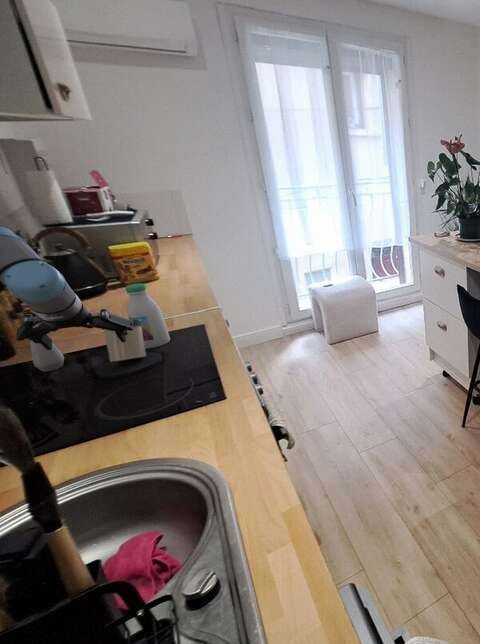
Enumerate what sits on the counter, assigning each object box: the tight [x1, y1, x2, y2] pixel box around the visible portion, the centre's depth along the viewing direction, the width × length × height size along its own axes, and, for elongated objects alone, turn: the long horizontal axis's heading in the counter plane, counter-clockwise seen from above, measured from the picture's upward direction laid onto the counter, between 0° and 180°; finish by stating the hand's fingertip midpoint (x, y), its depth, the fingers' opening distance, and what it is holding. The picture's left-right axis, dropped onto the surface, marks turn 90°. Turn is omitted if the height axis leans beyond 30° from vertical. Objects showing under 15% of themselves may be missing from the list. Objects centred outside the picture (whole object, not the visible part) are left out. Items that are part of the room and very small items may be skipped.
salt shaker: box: [29, 324, 65, 372], centre depth 115 cm, size 6×6×13 cm
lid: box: [102, 319, 143, 331], centre depth 117 cm, size 8×8×2 cm
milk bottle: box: [124, 283, 171, 349], centre depth 129 cm, size 8×8×20 cm
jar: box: [103, 326, 147, 362], centre depth 118 cm, size 8×8×10 cm
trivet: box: [94, 351, 163, 380], centre depth 118 cm, size 14×14×1 cm
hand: (88, 341), depth 110 cm, fingers open, 13 cm apart
